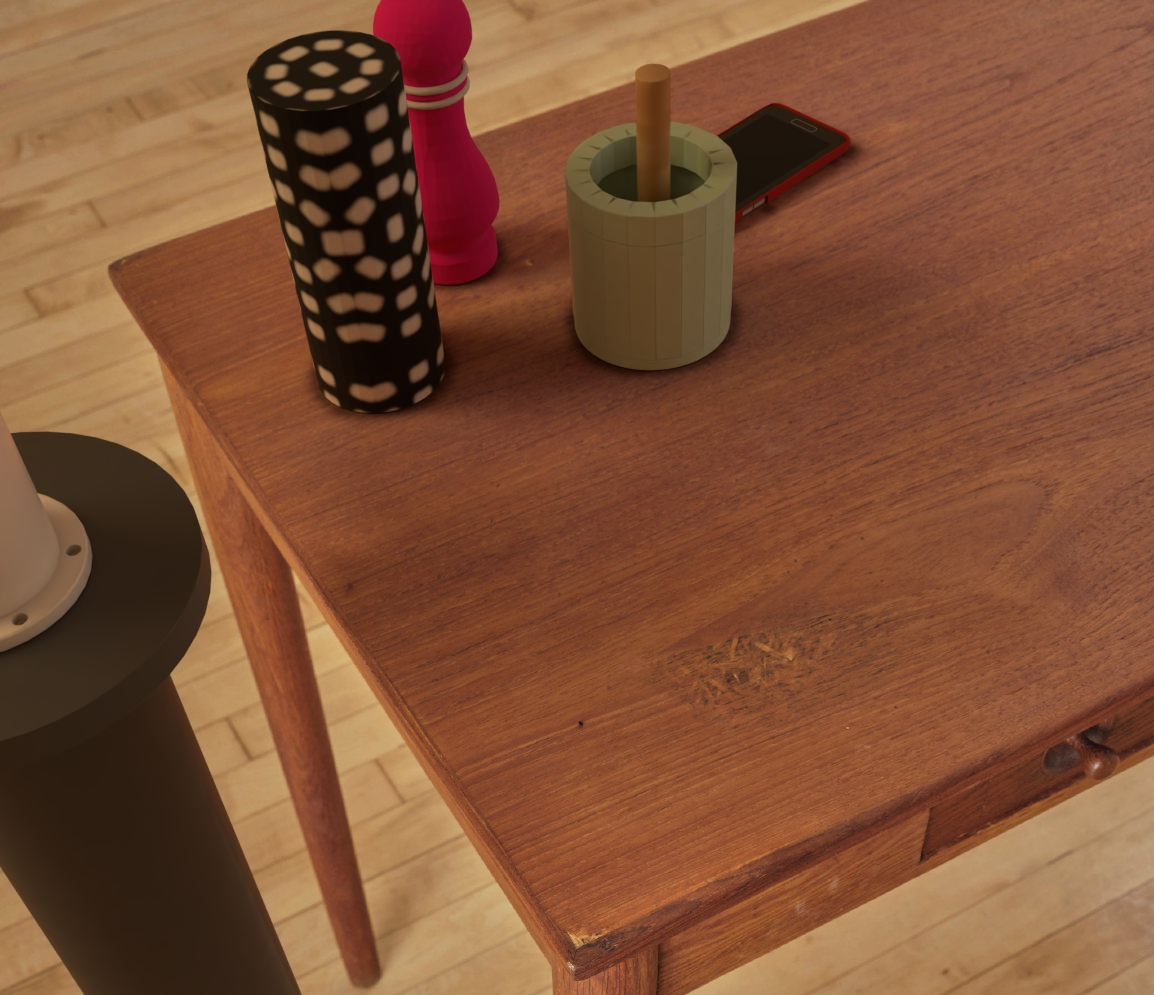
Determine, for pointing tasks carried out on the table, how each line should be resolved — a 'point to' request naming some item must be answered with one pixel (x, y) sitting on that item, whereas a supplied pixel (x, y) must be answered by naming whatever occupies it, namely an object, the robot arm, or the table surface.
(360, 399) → the white-spotted black cylinder
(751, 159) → the cell phone
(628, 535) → the table surface
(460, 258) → the pepper mill
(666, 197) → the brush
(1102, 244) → the table surface
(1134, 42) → the table surface
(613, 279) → the jar
